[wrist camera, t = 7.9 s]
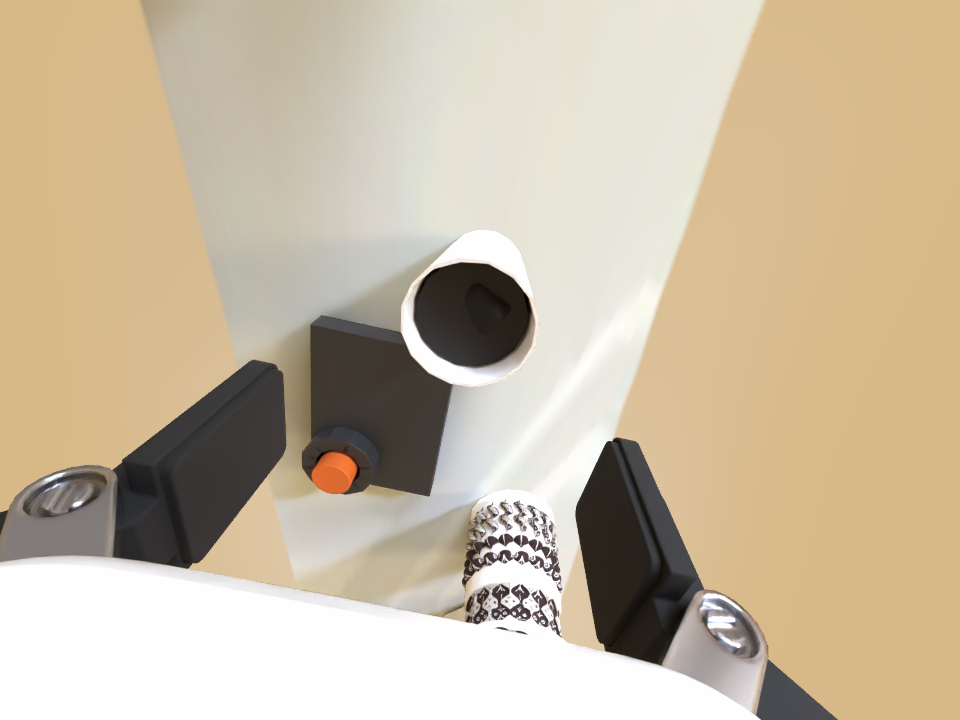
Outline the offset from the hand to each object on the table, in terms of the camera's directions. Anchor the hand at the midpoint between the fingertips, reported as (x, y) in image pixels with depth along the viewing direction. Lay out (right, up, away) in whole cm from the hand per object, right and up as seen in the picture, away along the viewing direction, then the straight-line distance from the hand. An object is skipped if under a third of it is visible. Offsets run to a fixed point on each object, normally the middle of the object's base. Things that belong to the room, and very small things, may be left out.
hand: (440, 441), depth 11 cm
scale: (-7, -2, +22) cm, 23 cm away
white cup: (+1, +9, +16) cm, 18 cm away
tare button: (-11, -7, +22) cm, 25 cm away
